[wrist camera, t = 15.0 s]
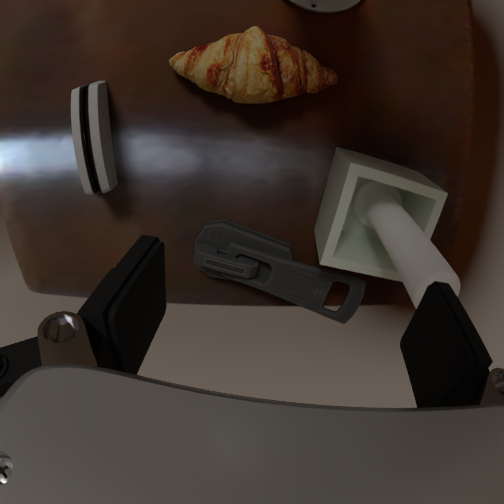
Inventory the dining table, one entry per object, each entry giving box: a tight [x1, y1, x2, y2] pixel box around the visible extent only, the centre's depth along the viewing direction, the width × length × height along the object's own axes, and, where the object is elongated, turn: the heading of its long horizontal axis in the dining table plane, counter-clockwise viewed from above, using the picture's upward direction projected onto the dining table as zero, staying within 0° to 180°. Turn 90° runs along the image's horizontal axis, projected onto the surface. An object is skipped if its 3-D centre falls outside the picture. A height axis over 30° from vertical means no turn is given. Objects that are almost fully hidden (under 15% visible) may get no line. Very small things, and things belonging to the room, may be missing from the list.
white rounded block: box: [71, 81, 118, 195], centre depth 39 cm, size 17×5×10 cm, turn 2°
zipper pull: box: [193, 219, 366, 324], centre depth 46 cm, size 9×7×25 cm
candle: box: [354, 180, 460, 309], centre depth 31 cm, size 7×7×25 cm
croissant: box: [169, 26, 338, 104], centre depth 34 cm, size 21×10×8 cm, turn 84°
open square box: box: [314, 147, 448, 282], centre depth 39 cm, size 12×12×10 cm
